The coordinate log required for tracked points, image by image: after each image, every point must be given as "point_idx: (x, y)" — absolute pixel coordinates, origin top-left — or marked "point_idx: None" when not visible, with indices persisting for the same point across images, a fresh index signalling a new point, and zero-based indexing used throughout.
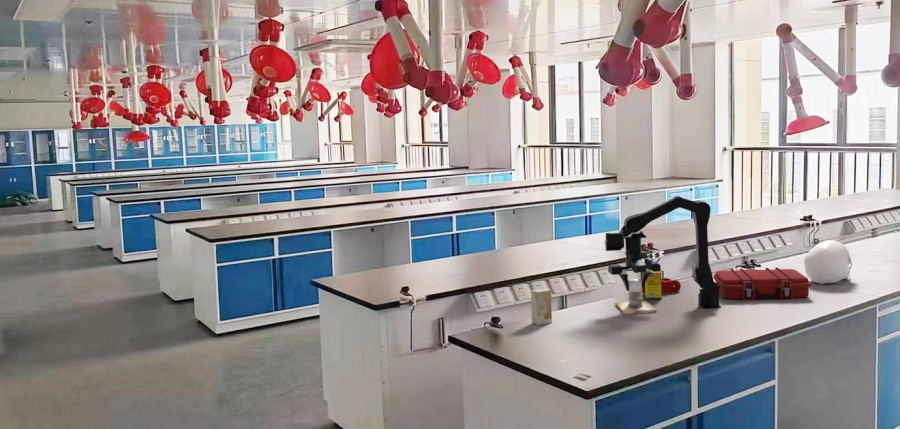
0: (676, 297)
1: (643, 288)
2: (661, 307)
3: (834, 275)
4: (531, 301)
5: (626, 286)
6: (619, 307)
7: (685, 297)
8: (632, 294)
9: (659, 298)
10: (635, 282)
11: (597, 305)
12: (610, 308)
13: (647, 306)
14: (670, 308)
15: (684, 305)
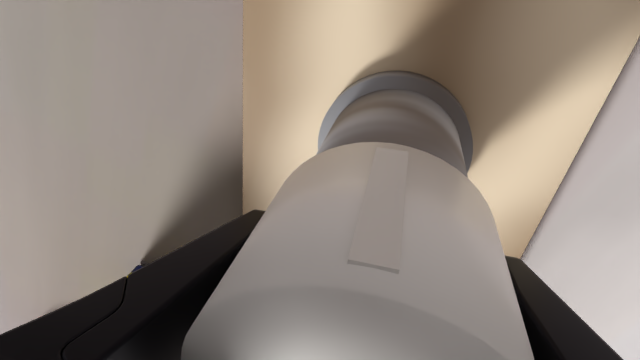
0: (56, 259)
1: (239, 217)
2: (172, 77)
3: None
4: None
5: (585, 325)
6: (556, 182)
7: (10, 237)
8: None
9: None
10: (415, 285)
11: (623, 354)
12: (600, 239)
13: (291, 79)
14: (106, 10)
15: (2, 62)
